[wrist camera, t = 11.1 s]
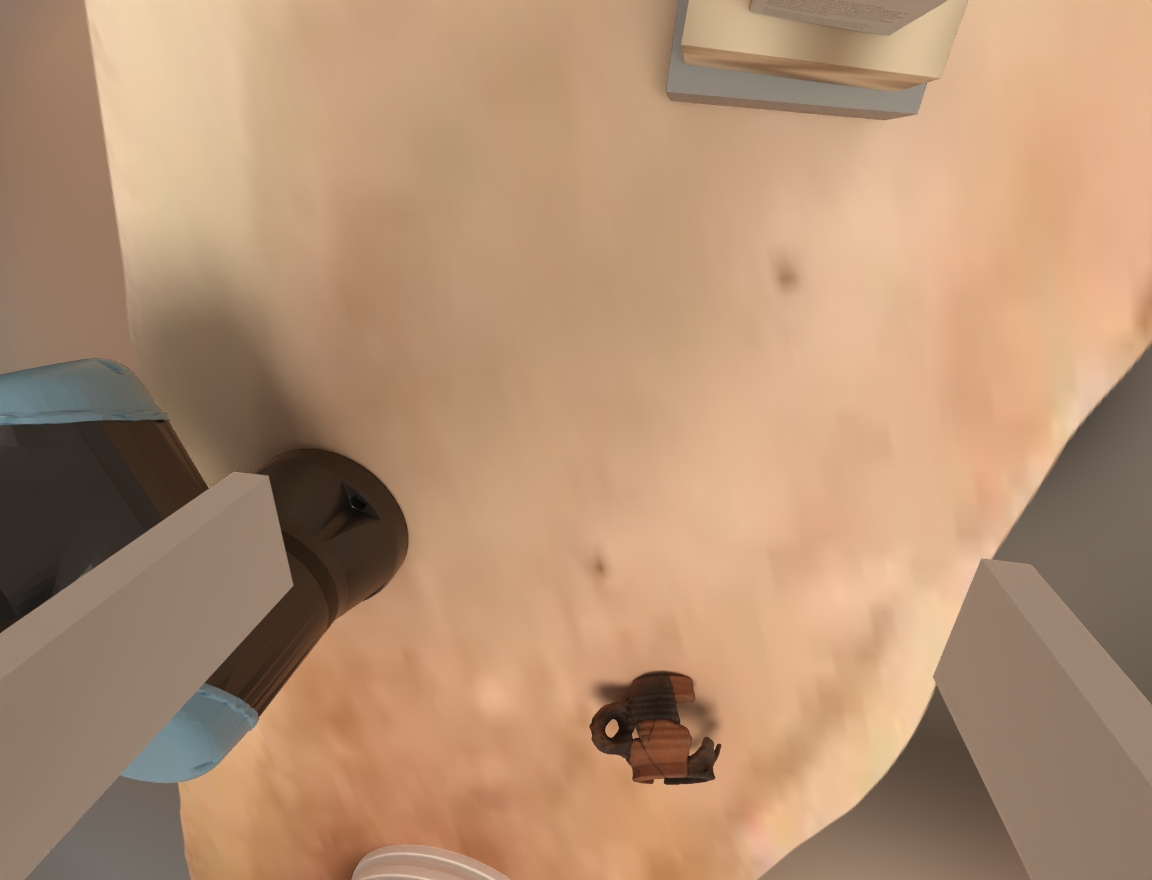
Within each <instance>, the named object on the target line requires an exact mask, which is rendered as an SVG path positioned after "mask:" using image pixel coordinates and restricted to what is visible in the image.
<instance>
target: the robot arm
mask: <svg viewBox="0 0 1152 880" xmlns="http://www.w3.org/2000/svg"><path fill="white" fill-rule="evenodd" d="M169 421H170V418H169V416H168V415H167V414H166V413H164V412H162V411H161V410H160V409H159V407H158V406H157V404H156V403H155V402H154V400H153V399H152V398H151V396H150V395H149V393H148V392H147V390H146V389H145V387H144V386H143V384H142V383H141V382H140V380H139V379H138V377H137V376H136V375H135V374H134V372H133V371H131V370H130V369H129V368H127V367H126V366H124V365H122V364H120V363H118V362H116V361H112V360H107V359H99V358H93V359H83V360H76V361H70V362H65V363H58V364H53V365H47V366H42V367H37V368H32V369H26V370H21V371H16V372H12V373H7V374H2V375H0V880H24V879H25V878H26V877H27V876H28V875H29V874H30V873H31V871H32V870H33V869H34V868H35V867H36V866H37V865H38V864H39V863H40V862H41V860H42V859H43V858H44V857H45V856H46V855H47V854H48V853H49V852H50V851H51V849H52V848H53V847H54V846H55V845H56V844H57V843H58V842H59V841H60V840H61V839H62V838H63V837H64V835H65V834H66V833H67V832H68V831H69V830H70V829H71V828H72V827H73V826H74V825H75V823H76V822H77V821H78V820H79V819H80V818H81V817H82V816H83V815H84V814H85V813H86V811H87V810H88V809H89V808H90V807H91V806H92V805H93V804H94V803H95V802H96V800H97V799H98V798H99V797H100V796H101V795H102V794H103V793H104V792H105V791H106V790H107V789H108V787H109V786H110V785H111V784H112V783H113V782H114V781H115V780H116V779H117V778H118V776H119V775H121V776H124V777H128V778H133V779H136V780H142V781H147V782H156V783H175V782H183V781H188V780H191V779H194V778H197V777H199V776H202V775H204V774H206V773H207V772H209V771H210V770H212V769H213V768H214V767H216V766H217V765H218V764H219V763H220V762H221V761H222V760H223V758H224V757H225V756H226V755H227V754H228V753H229V752H230V751H231V750H232V749H233V747H234V746H235V745H236V744H237V743H238V742H239V741H240V740H241V739H242V738H243V737H244V735H245V734H246V733H247V732H248V731H250V730H252V729H253V728H254V727H255V725H256V724H257V722H258V720H259V717H260V715H261V714H262V713H263V711H264V710H265V709H266V708H267V706H268V705H269V704H270V702H271V701H272V700H273V699H274V697H275V696H276V695H277V693H278V692H279V691H280V690H281V688H282V687H283V686H284V684H285V683H286V682H287V681H288V679H289V678H290V677H291V675H292V674H293V673H294V672H295V670H296V669H297V668H298V666H299V665H300V664H301V663H302V661H303V660H304V659H305V658H306V656H307V655H308V654H309V652H310V651H311V650H312V649H313V647H314V646H315V645H316V643H317V642H318V641H319V640H320V638H321V637H322V636H323V634H324V633H325V632H326V631H327V629H328V628H329V627H330V626H331V624H332V623H333V622H334V620H336V619H337V618H339V617H340V616H342V615H343V614H344V613H346V612H347V611H349V610H350V609H352V608H353V607H354V606H356V605H357V604H359V603H360V602H362V601H364V600H367V599H369V598H371V597H372V596H374V595H376V594H377V593H379V592H380V591H381V590H382V589H383V588H384V587H385V586H386V585H387V584H388V583H389V582H390V581H391V579H392V578H393V577H394V575H395V574H396V573H397V571H398V570H399V568H400V567H401V565H402V564H403V561H404V559H405V556H406V553H407V547H408V535H407V529H406V524H405V521H404V518H403V515H402V513H401V511H400V509H399V507H398V505H397V503H396V502H395V500H394V498H393V497H392V496H391V494H390V493H389V492H388V490H387V489H386V488H385V487H384V486H383V485H382V484H381V483H380V482H379V481H378V480H377V479H376V478H375V477H374V476H373V475H372V474H370V473H369V472H368V471H367V470H365V469H364V468H362V467H361V466H359V465H358V464H356V463H354V462H352V461H351V460H348V459H346V458H344V457H342V456H339V455H337V454H334V453H330V452H326V451H321V450H314V449H300V450H293V451H289V452H286V453H283V454H281V455H279V456H277V457H275V458H274V459H272V460H271V461H270V462H268V463H267V464H265V465H264V466H263V467H261V468H260V469H259V470H257V471H256V472H255V473H254V474H250V473H241V472H232V473H231V474H229V475H228V476H226V477H225V478H224V479H222V480H221V481H219V482H218V483H216V484H215V485H213V486H212V487H211V488H208V486H207V485H206V483H205V481H204V480H203V478H202V477H201V475H200V473H199V472H198V470H197V468H196V467H195V465H194V463H193V462H192V460H191V458H190V457H189V455H188V453H187V451H186V450H185V448H184V446H183V445H182V443H181V441H180V440H179V438H178V436H177V435H176V433H175V431H174V430H173V428H172V426H171V425H170V423H169ZM933 678H934V680H935V682H936V684H937V686H938V688H939V690H940V692H941V694H942V697H943V699H944V701H945V703H946V705H947V707H948V709H949V711H950V713H951V715H952V717H953V719H954V721H955V723H956V726H957V728H958V730H959V732H960V734H961V736H962V738H963V740H964V742H965V744H966V746H967V748H968V750H969V752H970V754H971V757H972V758H973V761H974V763H975V765H976V767H977V769H978V771H979V773H980V775H981V777H982V779H983V781H984V783H985V785H986V788H987V790H988V792H989V794H990V796H991V798H992V800H993V802H994V804H995V806H996V808H997V810H998V812H999V814H1000V817H1001V819H1002V820H1003V823H1004V825H1005V827H1006V829H1007V831H1008V833H1009V835H1010V837H1011V839H1012V841H1013V843H1014V845H1015V847H1016V850H1017V852H1018V854H1019V855H1020V858H1021V860H1022V862H1023V864H1024V866H1025V868H1026V870H1027V872H1028V875H1029V877H1030V878H1031V880H1152V705H1151V704H1150V702H1149V701H1148V700H1147V699H1146V698H1145V696H1143V694H1142V693H1141V692H1140V691H1139V690H1138V689H1137V687H1136V686H1135V685H1134V684H1133V683H1132V682H1131V680H1130V679H1129V678H1128V677H1127V676H1126V674H1125V673H1124V672H1123V671H1122V670H1121V669H1120V668H1119V666H1118V665H1117V664H1116V663H1115V662H1114V660H1113V659H1112V658H1111V657H1110V656H1109V655H1108V653H1107V652H1106V651H1105V650H1104V649H1103V648H1102V647H1101V645H1100V644H1099V643H1098V642H1097V641H1096V640H1095V638H1094V637H1093V636H1092V635H1091V634H1090V633H1089V631H1088V630H1087V629H1086V628H1085V627H1084V626H1083V624H1082V623H1081V622H1080V621H1079V620H1078V619H1077V617H1076V616H1075V615H1074V614H1073V613H1072V612H1071V610H1070V609H1069V608H1068V607H1067V606H1066V605H1065V604H1064V602H1063V601H1062V600H1061V599H1060V598H1059V597H1058V595H1057V594H1056V593H1055V592H1054V591H1053V590H1052V588H1051V587H1050V586H1049V585H1048V584H1047V583H1046V581H1045V580H1044V579H1043V578H1042V577H1041V576H1040V575H1039V573H1038V572H1037V571H1036V570H1035V569H1034V567H1033V566H1032V565H1031V564H1024V563H1015V562H1006V561H998V560H989V559H981V561H980V563H979V565H978V568H977V570H976V573H975V575H974V578H973V580H972V583H971V585H970V587H969V590H968V592H967V595H966V597H965V600H964V602H963V605H962V607H961V609H960V612H959V614H958V617H957V619H956V622H955V624H954V627H953V629H952V631H951V634H950V636H949V639H948V641H947V644H946V646H945V649H944V651H943V653H942V656H941V658H940V661H939V663H938V666H937V668H936V671H935V673H934V675H933Z"/></svg>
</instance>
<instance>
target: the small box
mask: <svg viewBox="0 0 1152 880" xmlns="http://www.w3.org/2000/svg"><path fill="white" fill-rule="evenodd" d="M946 1H948V0H750V3H749V10H750V12H753V13H758V14H763V15H768V16H773V17H778V18H784V19H790V20H795V21H801V22H807V23H813V24H819V25H825V26H831V27H837V28H842V29H848V30H854V31H860V32H866V33H873V34H880V35H887V36H889V35H891V34H892V33H894V32H896V31H898V30H899V29H901V28H903V27H904V26H906V25H908V24H909V23H911V22H913V21H914V20H916V19H918V18H919V17H921V16H923V15H925V14H926V13H928V12H930V11H931V10H933V9H935V8H936V7H938V6H940V5H942V4H943V3H945V2H946Z"/></svg>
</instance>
